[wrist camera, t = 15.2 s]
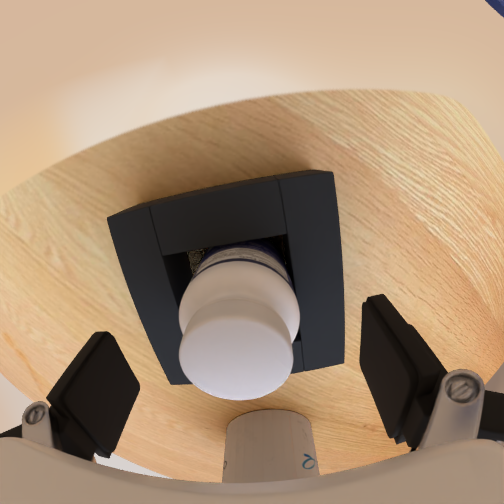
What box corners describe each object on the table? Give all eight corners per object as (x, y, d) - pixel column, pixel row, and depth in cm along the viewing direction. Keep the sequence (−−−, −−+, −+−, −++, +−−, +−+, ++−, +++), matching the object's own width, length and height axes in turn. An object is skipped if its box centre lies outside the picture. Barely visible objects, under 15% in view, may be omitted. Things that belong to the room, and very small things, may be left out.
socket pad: (314, 169, 15) (333, 171, 11) (329, 327, 18) (344, 363, 15) (136, 204, 16) (106, 217, 12) (182, 348, 19) (170, 385, 15)
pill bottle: (267, 315, 18) (275, 421, 10) (193, 291, 18) (151, 389, 9) (298, 244, 16) (339, 326, 8) (216, 216, 16) (175, 275, 8)
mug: (223, 408, 21) (213, 504, 12) (317, 406, 21) (336, 498, 12) (230, 462, 25) (225, 529, 16) (300, 461, 25) (307, 527, 16)
